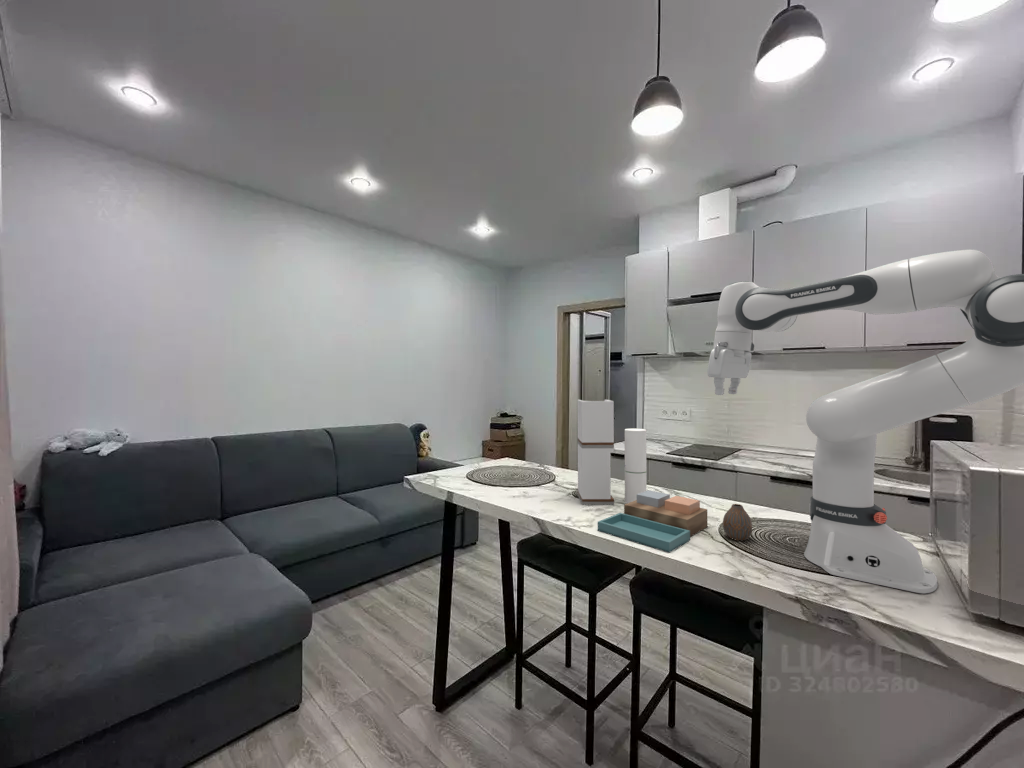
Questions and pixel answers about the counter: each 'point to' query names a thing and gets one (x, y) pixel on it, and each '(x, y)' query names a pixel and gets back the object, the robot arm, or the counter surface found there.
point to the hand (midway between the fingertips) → (725, 394)
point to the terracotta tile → (682, 505)
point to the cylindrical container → (635, 463)
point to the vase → (737, 523)
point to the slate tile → (652, 498)
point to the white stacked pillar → (595, 451)
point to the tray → (644, 531)
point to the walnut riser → (669, 516)
